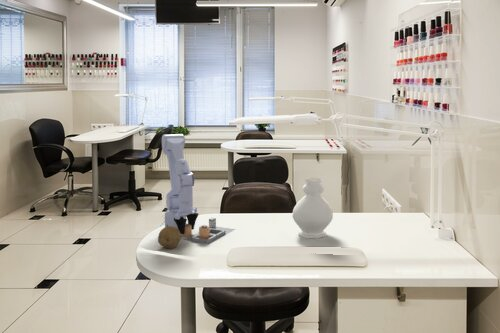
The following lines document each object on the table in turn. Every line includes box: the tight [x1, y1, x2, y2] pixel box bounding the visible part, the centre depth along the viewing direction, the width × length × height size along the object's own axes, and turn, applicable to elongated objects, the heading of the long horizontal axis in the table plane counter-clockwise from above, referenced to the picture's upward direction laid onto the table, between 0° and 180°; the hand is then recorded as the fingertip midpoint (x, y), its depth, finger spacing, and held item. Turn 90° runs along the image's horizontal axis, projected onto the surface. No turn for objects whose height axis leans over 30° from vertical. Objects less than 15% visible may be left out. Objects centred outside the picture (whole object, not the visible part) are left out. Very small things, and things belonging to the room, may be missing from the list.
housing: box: [183, 226, 236, 245], centre depth 231 cm, size 12×24×3 cm, turn 154°
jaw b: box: [181, 223, 193, 238], centre depth 230 cm, size 4×4×6 cm
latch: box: [208, 217, 217, 228], centre depth 242 cm, size 2×3×4 cm, turn 154°
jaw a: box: [198, 224, 210, 239], centre depth 223 cm, size 4×4×6 cm
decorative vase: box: [292, 177, 334, 239], centre depth 234 cm, size 18×18×25 cm
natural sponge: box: [157, 226, 182, 250], centre depth 213 cm, size 9×9×10 cm
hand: (186, 231), depth 230 cm, fingers open, 7 cm apart
